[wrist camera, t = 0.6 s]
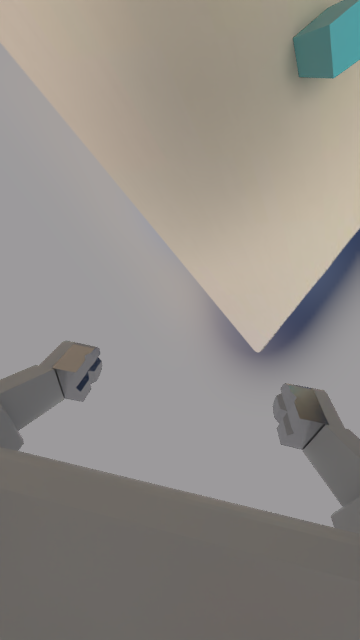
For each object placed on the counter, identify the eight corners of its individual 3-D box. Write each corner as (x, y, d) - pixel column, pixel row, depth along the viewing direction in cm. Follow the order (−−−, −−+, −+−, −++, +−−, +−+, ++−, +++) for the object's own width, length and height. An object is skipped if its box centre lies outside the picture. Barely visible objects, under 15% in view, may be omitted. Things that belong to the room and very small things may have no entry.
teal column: (292, 38, 31) (329, 24, 22) (328, 7, 29) (382, -20, 20) (299, 77, 34) (333, 78, 25) (331, 52, 32) (380, 44, 23)
